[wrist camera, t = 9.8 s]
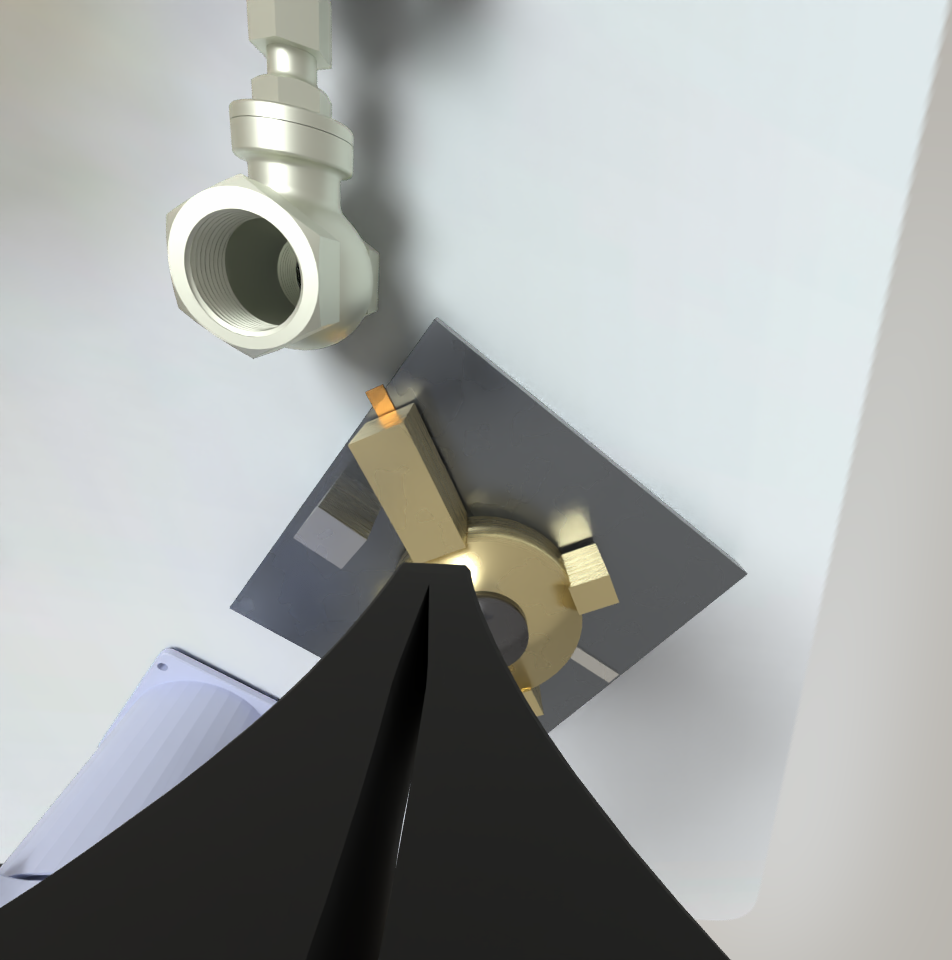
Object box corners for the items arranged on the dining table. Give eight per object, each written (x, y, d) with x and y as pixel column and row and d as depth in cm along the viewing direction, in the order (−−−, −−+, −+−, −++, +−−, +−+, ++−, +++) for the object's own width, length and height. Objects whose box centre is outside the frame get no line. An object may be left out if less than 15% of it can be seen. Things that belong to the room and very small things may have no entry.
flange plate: (510, 744, 26) (515, 821, 22) (230, 589, 21) (179, 652, 18) (735, 560, 21) (791, 620, 17) (426, 308, 16) (410, 315, 13)
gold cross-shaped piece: (632, 646, 21) (652, 693, 19) (424, 708, 23) (417, 758, 20) (527, 355, 16) (535, 368, 13) (265, 464, 17) (231, 493, 15)
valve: (420, 348, 17) (453, -104, 12) (387, 384, 11) (427, -478, 6) (244, 325, 17) (207, -146, 12) (111, 349, 11) (-71, -581, 6)
